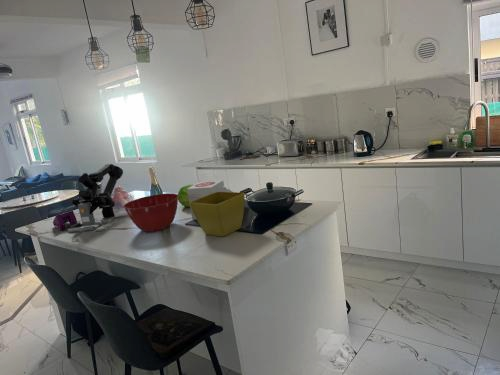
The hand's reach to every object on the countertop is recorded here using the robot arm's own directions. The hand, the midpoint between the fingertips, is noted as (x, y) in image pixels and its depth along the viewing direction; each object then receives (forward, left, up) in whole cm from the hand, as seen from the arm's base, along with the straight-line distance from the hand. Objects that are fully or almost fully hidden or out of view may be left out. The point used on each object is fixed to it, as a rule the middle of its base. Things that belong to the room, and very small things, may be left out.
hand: (85, 214), depth 215 cm
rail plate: (+2, -2, -9) cm, 9 cm away
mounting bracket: (+15, -20, -9) cm, 27 cm away
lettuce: (-62, +7, -9) cm, 63 cm away
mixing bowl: (-35, +32, -9) cm, 49 cm away
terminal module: (0, -1, -7) cm, 7 cm away
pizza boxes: (-69, +33, -9) cm, 77 cm away
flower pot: (-62, +65, -9) cm, 91 cm away
